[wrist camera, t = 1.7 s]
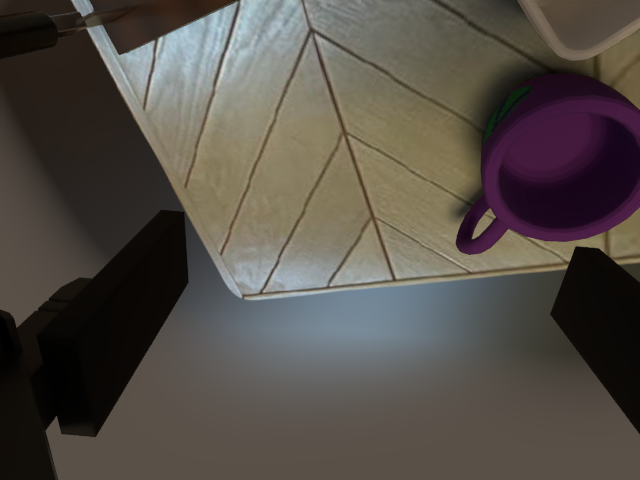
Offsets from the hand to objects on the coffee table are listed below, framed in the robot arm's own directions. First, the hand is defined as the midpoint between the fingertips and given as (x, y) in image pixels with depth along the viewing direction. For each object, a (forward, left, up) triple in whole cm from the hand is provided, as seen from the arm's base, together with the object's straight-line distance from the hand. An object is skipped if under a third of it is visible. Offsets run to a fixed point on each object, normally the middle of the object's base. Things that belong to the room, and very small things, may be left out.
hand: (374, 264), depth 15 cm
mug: (+3, +12, -30) cm, 32 cm away
